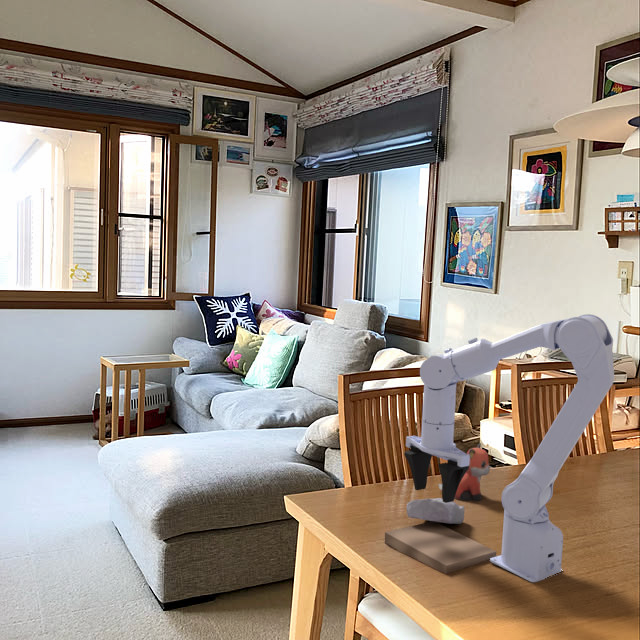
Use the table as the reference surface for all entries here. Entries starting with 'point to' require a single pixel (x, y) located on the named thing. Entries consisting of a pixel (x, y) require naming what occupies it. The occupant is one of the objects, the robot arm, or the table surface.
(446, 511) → the stone block
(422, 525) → the walnut base
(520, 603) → the table surface
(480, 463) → the stuffed fox
